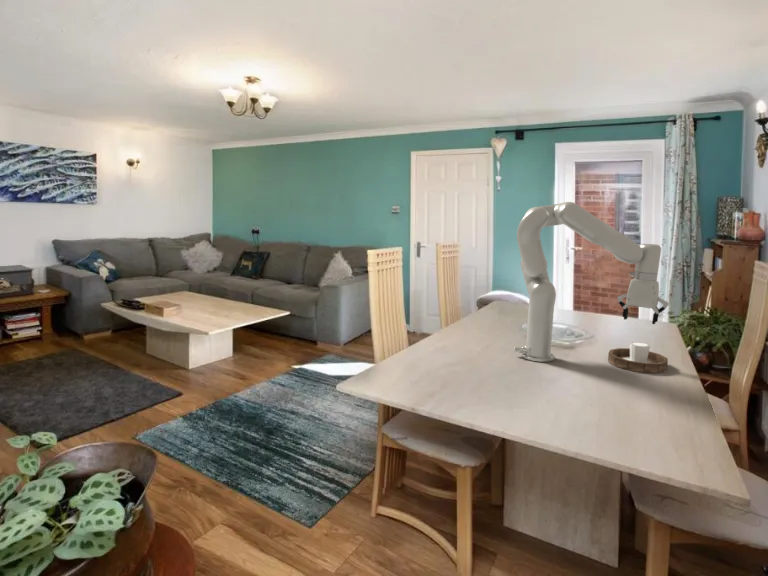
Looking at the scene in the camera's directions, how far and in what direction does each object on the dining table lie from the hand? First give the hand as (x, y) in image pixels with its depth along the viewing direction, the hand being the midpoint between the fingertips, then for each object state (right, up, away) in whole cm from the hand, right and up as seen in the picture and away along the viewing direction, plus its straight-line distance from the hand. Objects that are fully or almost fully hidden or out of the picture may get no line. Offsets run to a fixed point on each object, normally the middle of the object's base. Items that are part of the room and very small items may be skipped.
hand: (639, 321), depth 174 cm
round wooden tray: (0, -17, +3) cm, 17 cm away
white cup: (+1, -16, +2) cm, 16 cm away
